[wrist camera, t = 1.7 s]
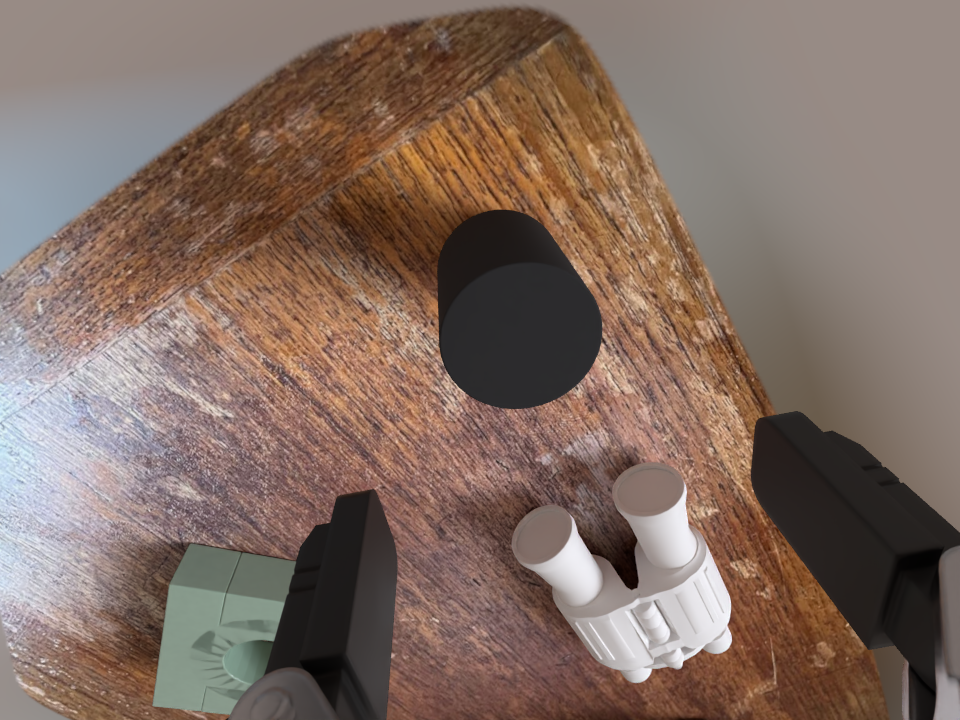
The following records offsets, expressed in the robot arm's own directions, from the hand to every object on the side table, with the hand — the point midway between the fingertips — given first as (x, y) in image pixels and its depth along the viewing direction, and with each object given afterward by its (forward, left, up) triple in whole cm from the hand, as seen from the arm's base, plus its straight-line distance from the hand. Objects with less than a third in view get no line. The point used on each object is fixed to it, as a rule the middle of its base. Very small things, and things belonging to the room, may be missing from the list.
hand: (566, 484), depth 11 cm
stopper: (0, 0, -16) cm, 16 cm away
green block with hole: (-5, -28, -16) cm, 33 cm away
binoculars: (+16, -17, -16) cm, 28 cm away
